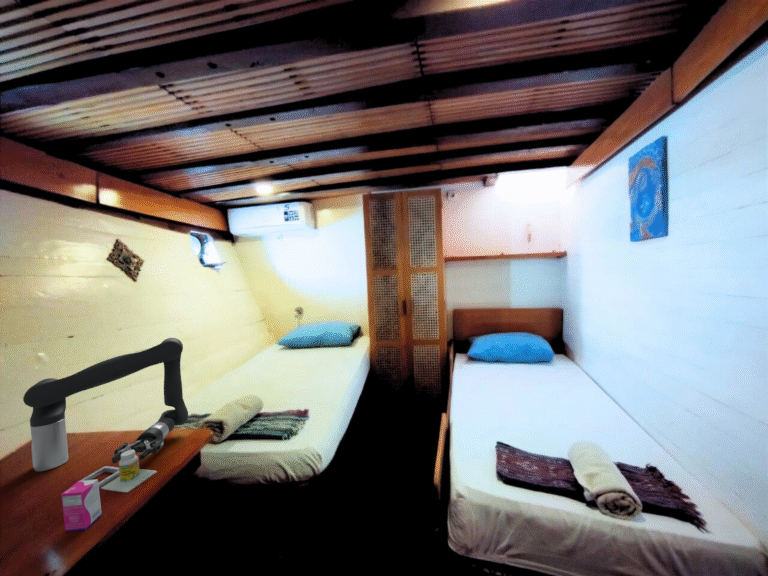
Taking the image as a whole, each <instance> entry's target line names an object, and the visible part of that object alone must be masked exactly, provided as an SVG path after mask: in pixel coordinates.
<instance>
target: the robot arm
mask: <svg viewBox="0 0 768 576" xmlns="http://www.w3.org/2000/svg"><path fill="white" fill-rule="evenodd" d="M183 346H184V345H183V343H182V341H181V340H180V339H178V338H176V337H167V338H166V339H163V341H161V343H158V344H156V345H155V346H154V345H153V346H152V347H150V348H148V349H144V350H141V351H138V352H132V353H127V354H122V355H118V356H114V357H111V358H108V359H106V360H102V361H100V362H97V363H95V364H92V365H90V366H88V367H85V368H84V369H82V370H80V371H78V372H76V373H74V374H71V375H68V376H66V377H62V378H59V379H58V378H52V377H51V378H45V379H42V380H39V381H38V382H37V383H35V384H33V385H32V386H30V387H29V388H28V389H27V390H26V391H25V393H24V395H23V397H22V400H23V403H24V404H25V406H28V407H30V408H32V413H31V416H30V419H29V425H30V435H31V436H30V437H31V445H30V449H31V457H32V458H31V459H32V460H31V461H32V468H33V469H34V471H35V472H44V471H48V470H49V471H50V470H52V469H55V468H57V467H60V466H62V465H63V464H65V463H67V462H68V461H69V451H68V450H69V449H68V448H69V447H68V436H67V426H66V416H65V415H66V410H67V409H66V407H67V399H66V398H68V397H71V396H73V395H76V394H78V393H80V392H84V391H87V390H90V389H93V388H96V387H99V386H102V385H106V384H110V383H112V382H115V381H117V380H120V379H123V378H125V377H127V376H130V375H133V374H135V373H137V372H140V371H143V370H145V369H146V368H149V367H152V366H156V365H160V364H163V372H164V373H163V374H164V375H163V402H164V406H167V407H171V408H173V409H167V410H165V411H163V412H162V413H161V416H160V417H159V419H158V420H157V421H156V422H155V423H154V424H152V425H151V426H149V427H148V428H147V429H145V431H143V432H141V434H140V435H139V436H138V437H137V439H136V440H135V441H134V442H132V443H131V444H130V443H129V442H124V443H122V444H121V445H120V446H118V447H117V448H116V449H114V450H113V456H112V457H111V463H112V464H116V463H119V462H120V460H121V454H122V453H123V452H125V451H128V450H135V454H138V453H140V454H139V456H138V462H139V461H140V462H142V461H143V460H145V459H147V457H148V456H150V455H152V454H153V455H155V454H158V453H159V451H161V449H162V448H163V447H164V446H165V445H164V440H165V439H166V438H167V436H168V435H169V434H170V433H171V432H172V431H173V430H174V429H175V426H176V427H177V426H184V425H185V424H186V423H187V421H188V419H189V411H188V408H187V406H186V403H185V401H184V397H183V396H184V393H183V383H182V372H181V371H182V370H181V359H182V353H183V349H184V347H183Z"/></svg>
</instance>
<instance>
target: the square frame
mask: <svg viewBox="0 0 768 576" xmlns="http://www.w3.org/2000/svg"><path fill="white" fill-rule="evenodd" d="M103 473H112V474H111V475H108V476H107V477H105V478H104V479H102V480H101V481H98V485H99V489H101V488H102V487H103V486H105V485H106V484H108V483H110V482H111V481H113V480H114V479H116V478H118V477H119V476H120V472H119V466H118V467H117V466H109V465H108V466H107V465H105V466H102V467H101V468H99V469H97V470H96V471H94V472H93V473H90V474H89V475H87V476H85V477H84V478H82V479H80V480H79V481H86V480H95V479H96V478H97V477H99V476H100V475H102V474H103Z"/></svg>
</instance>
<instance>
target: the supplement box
mask: <svg viewBox="0 0 768 576" xmlns="http://www.w3.org/2000/svg"><path fill="white" fill-rule="evenodd" d="M98 482H99V480H98V478H97V479H96V478H94V479H92V480H86V481H80V480H78V481H77V482H75V483H74V484H73V485H72V486H70V487H69V488H68V489H66V490H65V491H64V492H62V493H61V496H60V497H61V506H62V512H63V522H64V529H65V530H64V531H65V532H66V533H67V532H77V531H87V530H88V529H89V528H90V527H91V526H92V525H93V524H94V523H95V522H96V521H97V520H98V519H99V518H101V517H102V515H103V513H102V505H101V504H102V503H101V496H100V488H99V485H98Z"/></svg>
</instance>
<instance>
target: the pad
mask: <svg viewBox="0 0 768 576" xmlns="http://www.w3.org/2000/svg"><path fill="white" fill-rule="evenodd" d="M157 473H158V471H157V470H155V469H154V470H153V469H143V468H139V474H140V475H139V477H138V478H137V479H135V480H134V481H132V482H129V483H121V482H120V476H118V477H117V478H115V479H114V480H112V481H110V482H109V483H107V484H106V485H104V486H102V487H101V488H100V490H105V491H112V492H119V493H120V492H121V493H127V494H128V493H129V492H130V491H132V490H133V489H134V488H136V487H138V486H139V485H141V484H142V483H143V482H146V481H147V480H148V479H150V477H152V476H153V475H155V474H157Z"/></svg>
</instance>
